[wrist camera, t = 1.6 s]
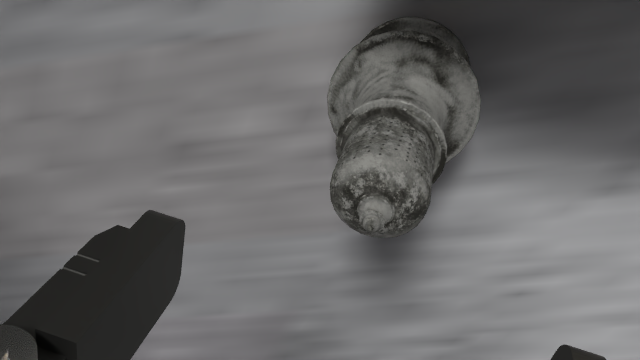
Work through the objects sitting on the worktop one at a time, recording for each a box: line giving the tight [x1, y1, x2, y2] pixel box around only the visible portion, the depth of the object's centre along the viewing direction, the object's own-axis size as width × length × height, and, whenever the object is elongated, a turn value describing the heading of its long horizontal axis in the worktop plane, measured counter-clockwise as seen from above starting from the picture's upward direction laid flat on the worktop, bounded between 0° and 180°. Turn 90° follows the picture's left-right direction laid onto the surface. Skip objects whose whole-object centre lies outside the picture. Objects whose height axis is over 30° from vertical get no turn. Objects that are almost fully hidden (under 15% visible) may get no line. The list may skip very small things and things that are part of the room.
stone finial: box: [327, 17, 481, 238], centre depth 19 cm, size 6×6×12 cm
